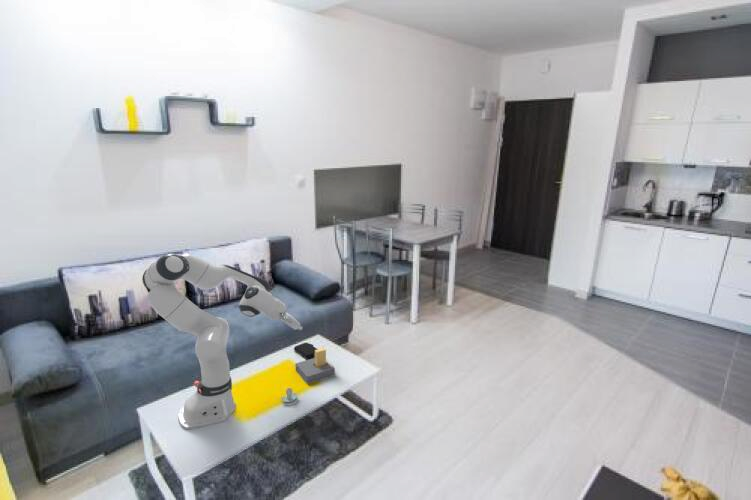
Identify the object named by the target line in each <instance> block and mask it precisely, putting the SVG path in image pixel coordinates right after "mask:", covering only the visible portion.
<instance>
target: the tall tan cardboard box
mask: <svg viewBox="0 0 751 500" xmlns="http://www.w3.org/2000/svg"><path fill="white" fill-rule="evenodd" d="M314 358H315V367H316V368H317V367H321V366H324V365H326V359H327V350H326V349H325V347H322V348H319V349H318V348H317V350H315V357H314Z"/></svg>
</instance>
